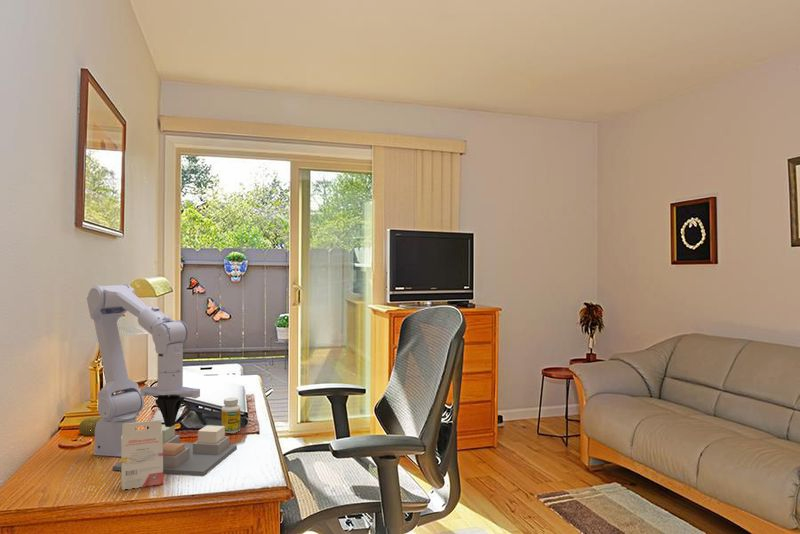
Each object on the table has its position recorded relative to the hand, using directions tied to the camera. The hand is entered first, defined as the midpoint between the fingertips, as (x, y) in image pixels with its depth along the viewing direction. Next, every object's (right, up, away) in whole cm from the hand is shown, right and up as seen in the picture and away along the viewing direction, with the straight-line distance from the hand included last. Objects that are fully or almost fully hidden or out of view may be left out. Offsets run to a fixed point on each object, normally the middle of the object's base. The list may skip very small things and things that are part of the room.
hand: (170, 425), depth 138 cm
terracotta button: (0, -8, 0) cm, 9 cm away
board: (0, -10, +5) cm, 11 cm away
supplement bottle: (+6, -10, +28) cm, 31 cm away
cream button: (+7, -7, +9) cm, 13 cm away
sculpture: (-33, -10, +26) cm, 43 cm away
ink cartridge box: (-2, -10, -11) cm, 15 cm away
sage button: (-6, -7, +10) cm, 13 cm away
